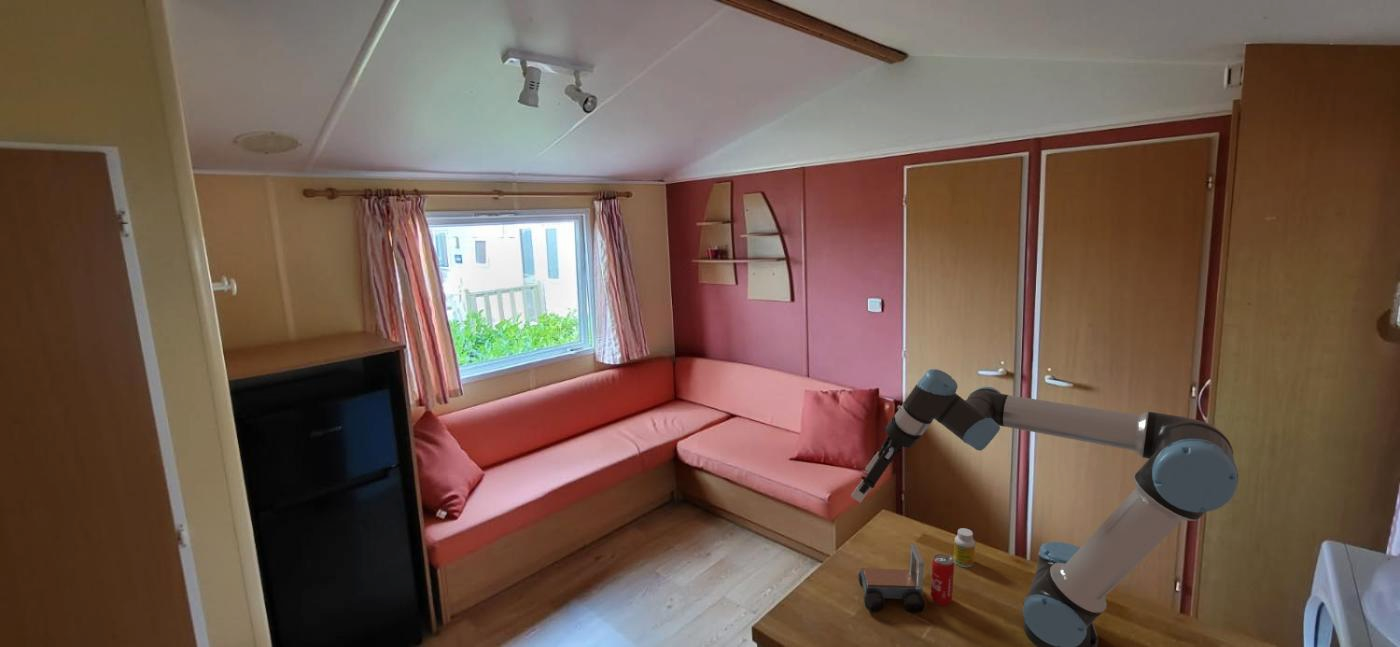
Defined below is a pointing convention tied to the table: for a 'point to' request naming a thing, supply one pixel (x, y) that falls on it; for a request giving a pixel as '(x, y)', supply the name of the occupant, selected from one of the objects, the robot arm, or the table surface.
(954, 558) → the supplement bottle
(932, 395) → the robot arm
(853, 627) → the table surface
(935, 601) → the beverage can
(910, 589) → the trolley
